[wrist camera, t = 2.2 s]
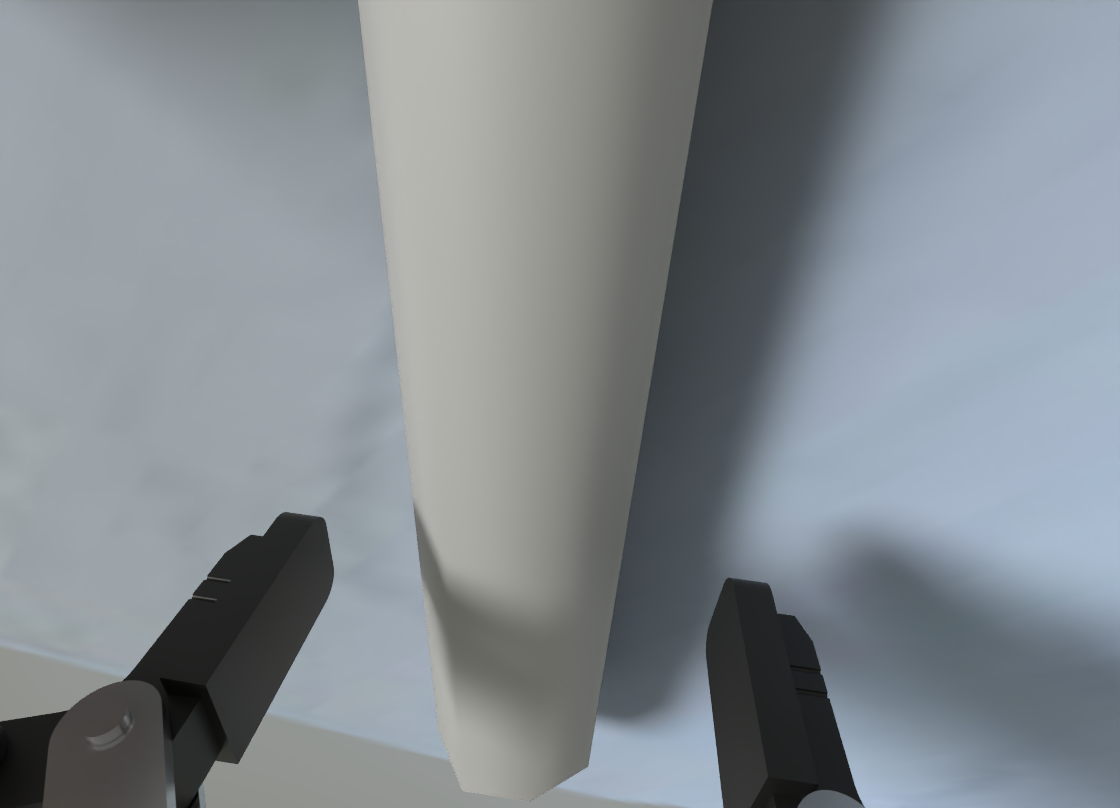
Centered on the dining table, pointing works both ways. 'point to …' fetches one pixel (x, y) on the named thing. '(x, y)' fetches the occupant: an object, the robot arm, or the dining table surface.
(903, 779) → the dining table surface
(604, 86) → the tube
